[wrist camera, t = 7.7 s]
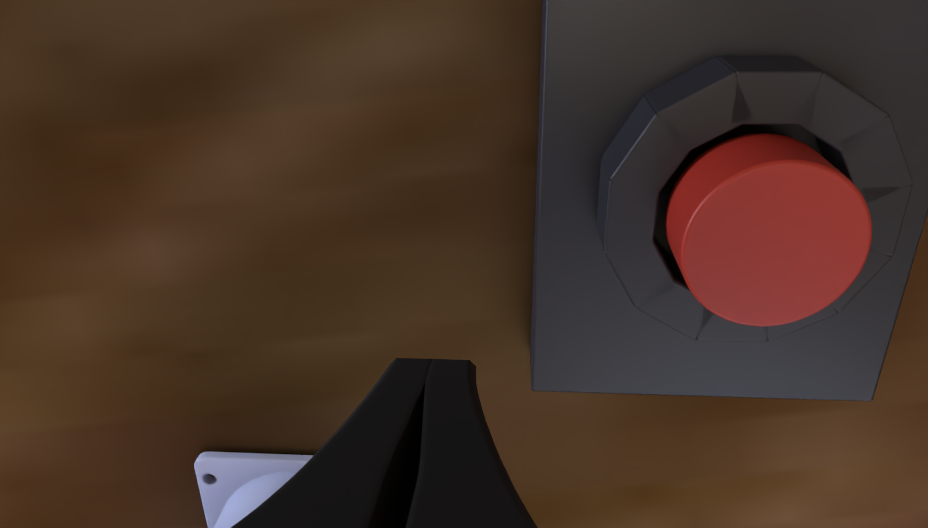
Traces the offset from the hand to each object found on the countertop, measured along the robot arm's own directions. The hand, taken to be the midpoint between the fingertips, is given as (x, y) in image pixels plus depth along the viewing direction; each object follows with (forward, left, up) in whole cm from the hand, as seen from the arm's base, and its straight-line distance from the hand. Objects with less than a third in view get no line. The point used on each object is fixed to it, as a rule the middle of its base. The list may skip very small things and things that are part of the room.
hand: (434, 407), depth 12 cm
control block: (+1, -7, -10) cm, 13 cm away
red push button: (+1, -7, -7) cm, 10 cm away
